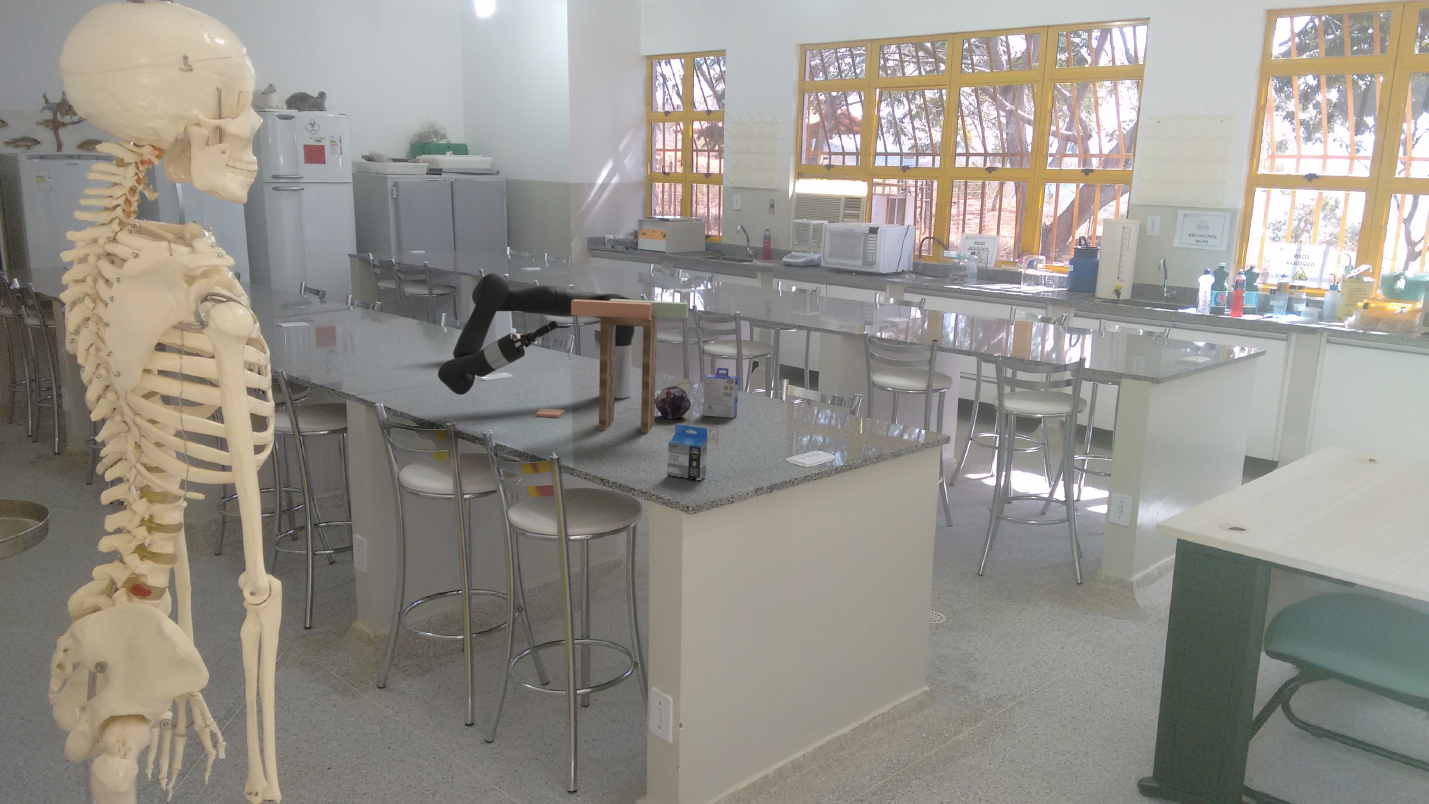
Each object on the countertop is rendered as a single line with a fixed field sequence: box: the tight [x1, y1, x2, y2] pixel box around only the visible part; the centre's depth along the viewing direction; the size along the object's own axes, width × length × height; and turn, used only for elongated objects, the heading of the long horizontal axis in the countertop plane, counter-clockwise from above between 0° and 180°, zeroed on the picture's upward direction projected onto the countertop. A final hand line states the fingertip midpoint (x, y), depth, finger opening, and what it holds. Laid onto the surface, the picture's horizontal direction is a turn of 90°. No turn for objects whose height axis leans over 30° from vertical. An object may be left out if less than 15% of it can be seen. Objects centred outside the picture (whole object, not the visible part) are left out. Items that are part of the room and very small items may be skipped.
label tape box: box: [666, 423, 709, 481], centre depth 248 cm, size 9×4×12 cm, turn 66°
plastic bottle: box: [468, 295, 514, 350], centre depth 394 cm, size 15×15×28 cm
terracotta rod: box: [571, 299, 652, 319], centre depth 288 cm, size 4×22×4 cm, turn 85°
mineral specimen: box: [655, 385, 692, 420], centre depth 311 cm, size 10×10×10 cm
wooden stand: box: [598, 317, 658, 434], centre depth 294 cm, size 12×14×32 cm
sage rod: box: [609, 299, 689, 319], centre depth 293 cm, size 4×22×4 cm, turn 85°
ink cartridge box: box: [702, 367, 739, 419], centre depth 315 cm, size 10×6×14 cm, turn 78°
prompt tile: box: [535, 408, 565, 418], centre depth 309 cm, size 7×7×1 cm
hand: (552, 325), depth 291 cm, fingers open, 8 cm apart
